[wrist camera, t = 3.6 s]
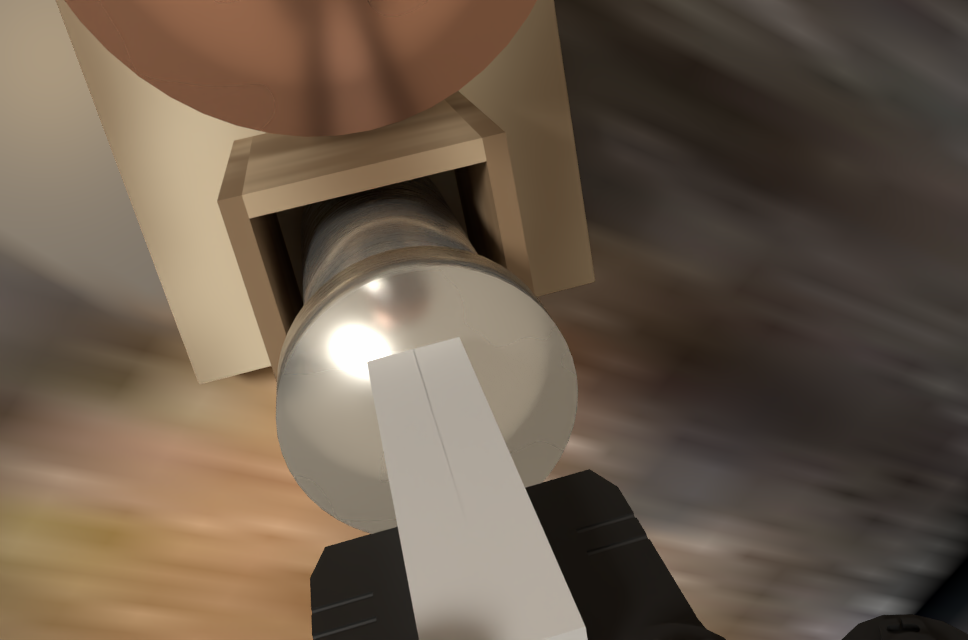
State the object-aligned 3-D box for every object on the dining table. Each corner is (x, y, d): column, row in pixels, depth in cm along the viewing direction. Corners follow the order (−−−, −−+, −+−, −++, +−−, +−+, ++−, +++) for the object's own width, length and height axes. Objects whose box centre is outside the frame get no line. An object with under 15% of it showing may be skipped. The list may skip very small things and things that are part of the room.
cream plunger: (310, 336, 25) (322, 572, 15) (257, 163, 23) (235, 315, 13) (484, 292, 25) (596, 494, 16) (448, 118, 23) (553, 235, 14)
